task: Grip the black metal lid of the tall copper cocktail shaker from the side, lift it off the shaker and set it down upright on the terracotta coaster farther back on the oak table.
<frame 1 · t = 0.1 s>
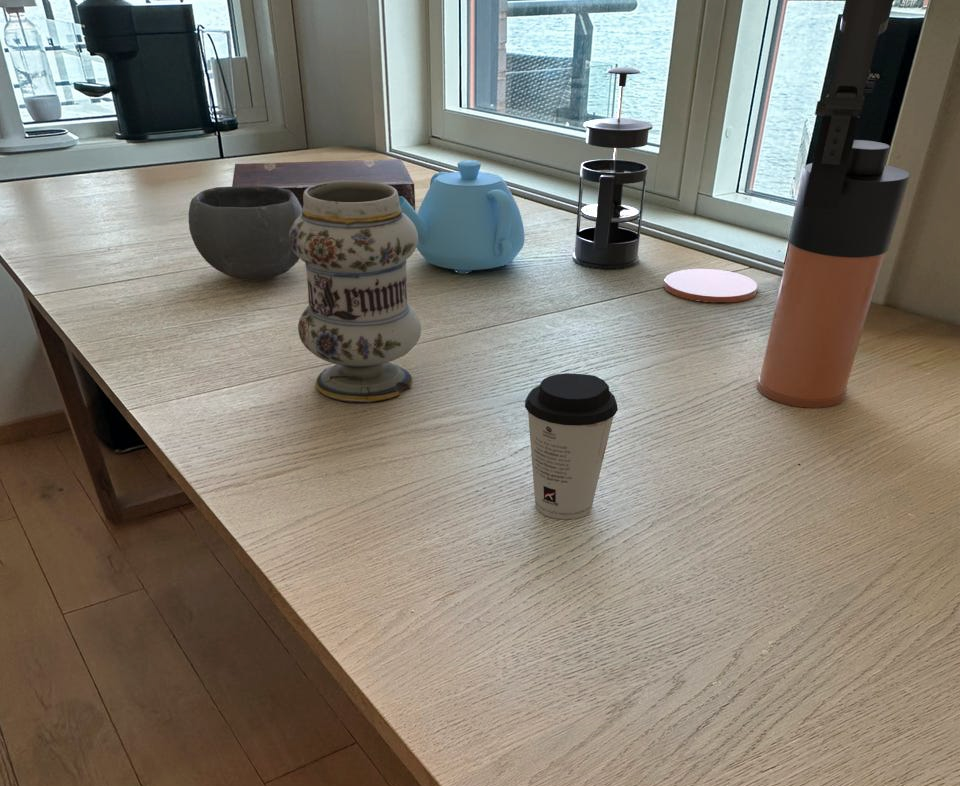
hand: (825, 190, 76), 18 cm above the table, tool pointing down, fingers open, 13 cm apart
shaker: (800, 390, 87), on the table
apothecary jar: (364, 385, 88), on the table
coffee cup: (563, 506, 69), on the table
teapot: (455, 266, 120), on the table
hardback book: (324, 206, 147), on the table
shaker lid: (837, 243, 79), point 14 cm above the table, touching shaker
bowl: (256, 277, 116), on the table
coaster: (709, 288, 113), on the table
french press: (604, 262, 122), on the table
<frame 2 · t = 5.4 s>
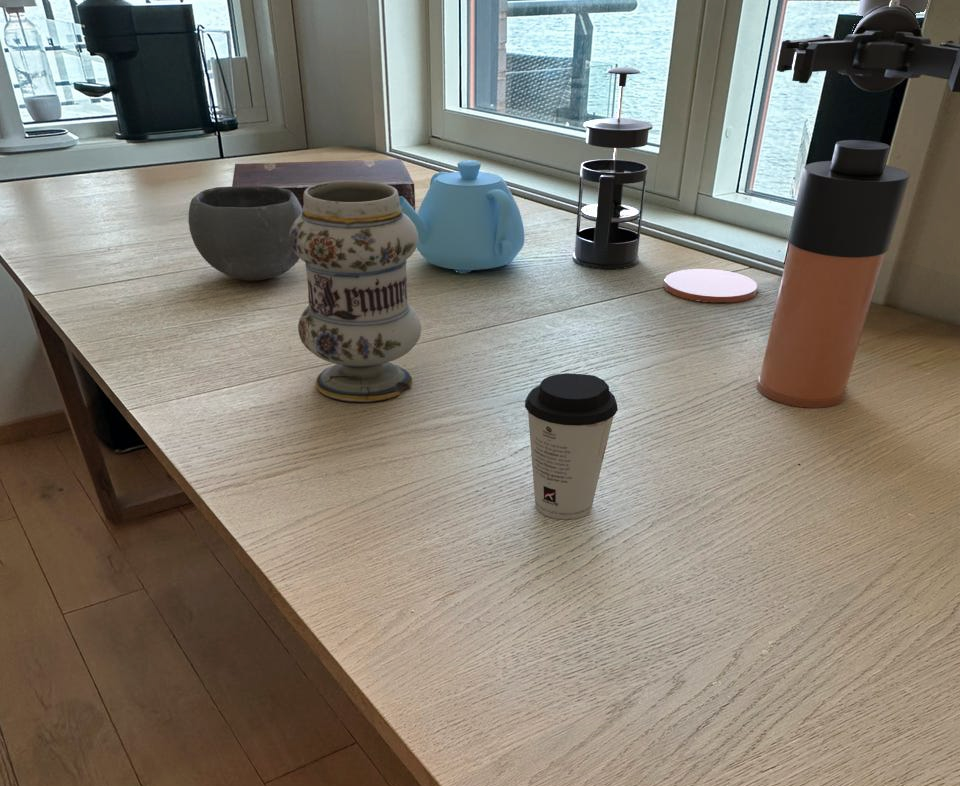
hand: (882, 70, 80), 26 cm above the table, tool horizontal, fingers open, 13 cm apart
nothing on the table moved.
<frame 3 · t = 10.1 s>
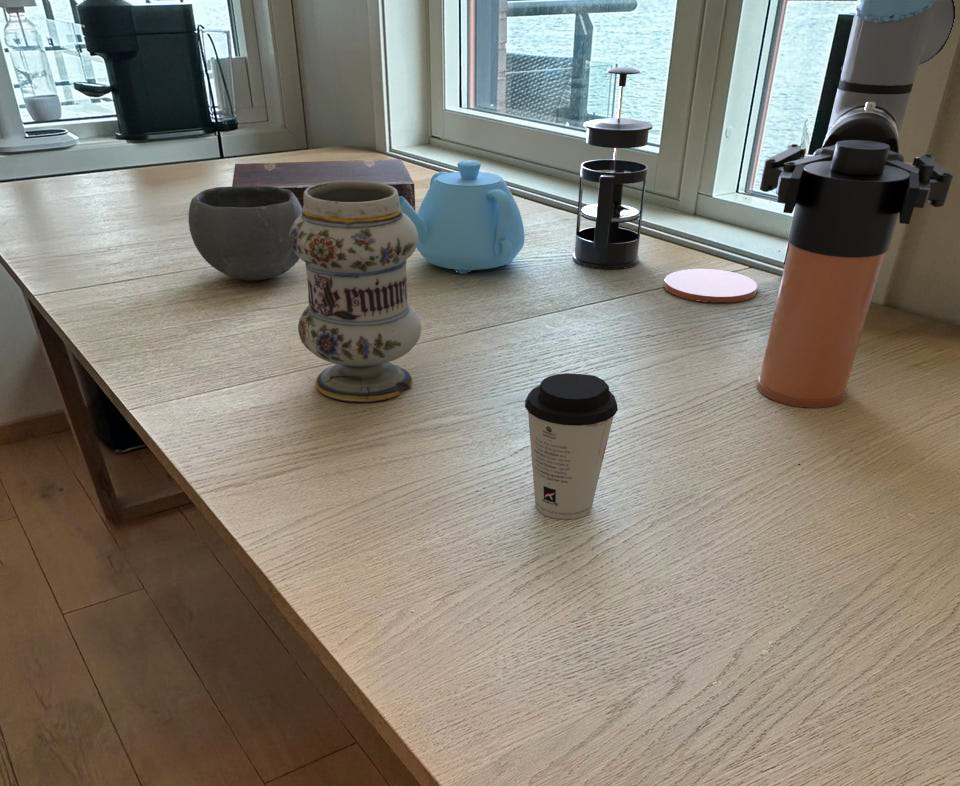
hand: (849, 200, 72), 18 cm above the table, tool horizontal, fingers closed on shaker lid, 9 cm apart
shaker lid: (837, 243, 79), point 14 cm above the table, touching gripper, shaker
everything else where it was.
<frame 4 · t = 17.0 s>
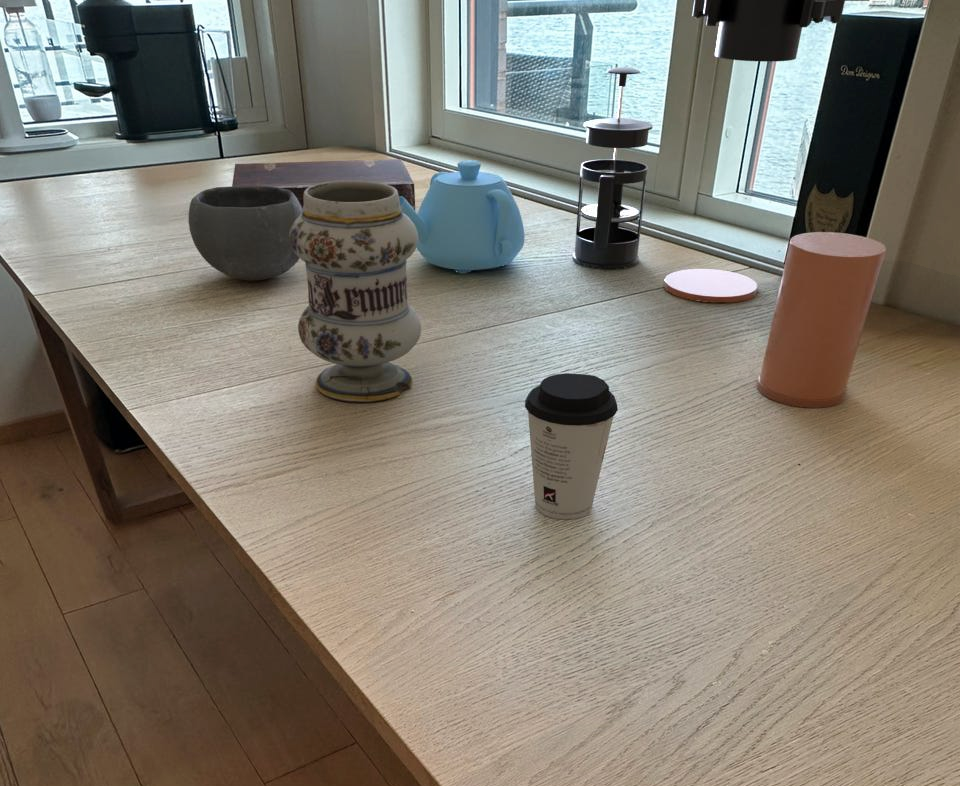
hand: (758, 9, 89), 30 cm above the table, tool horizontal, fingers closed on shaker lid, 9 cm apart
shaker lid: (755, 57, 95), point 25 cm above the table, touching gripper
everything else where it was.
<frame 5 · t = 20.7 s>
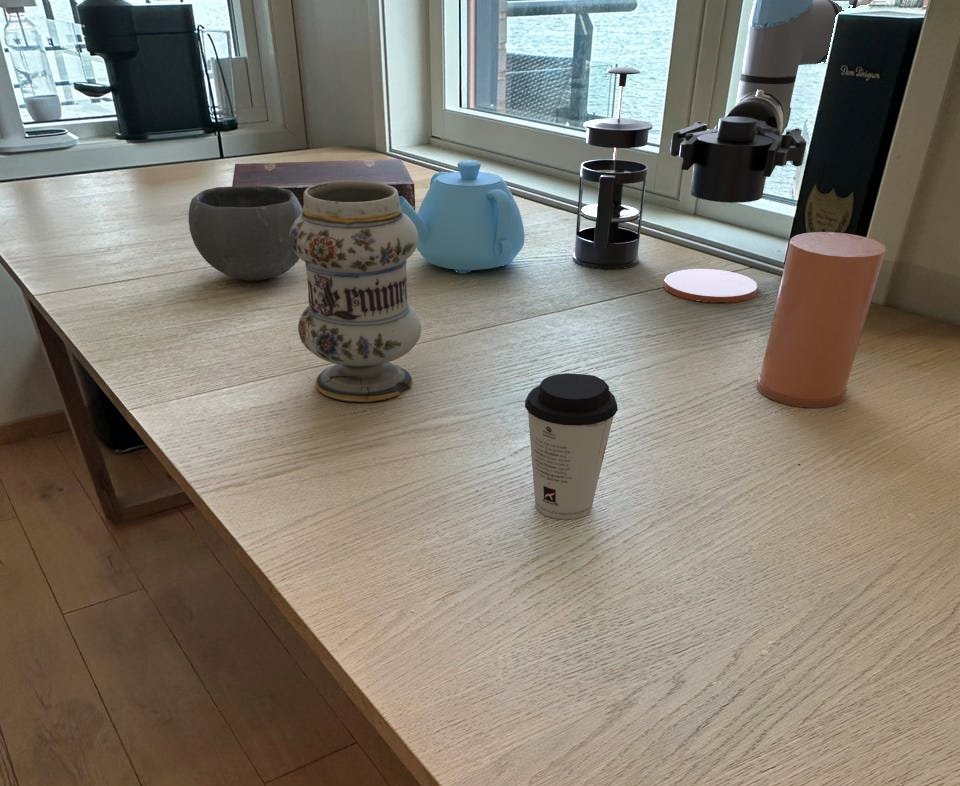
hand: (727, 160, 100), 16 cm above the table, tool horizontal, fingers closed on shaker lid, 9 cm apart
shaker lid: (725, 194, 106), point 11 cm above the table, touching gripper
everything else where it was.
when the fingers open (5 cm above the table, at t = 24.0 s): shaker lid stays where it is, resting on coaster.
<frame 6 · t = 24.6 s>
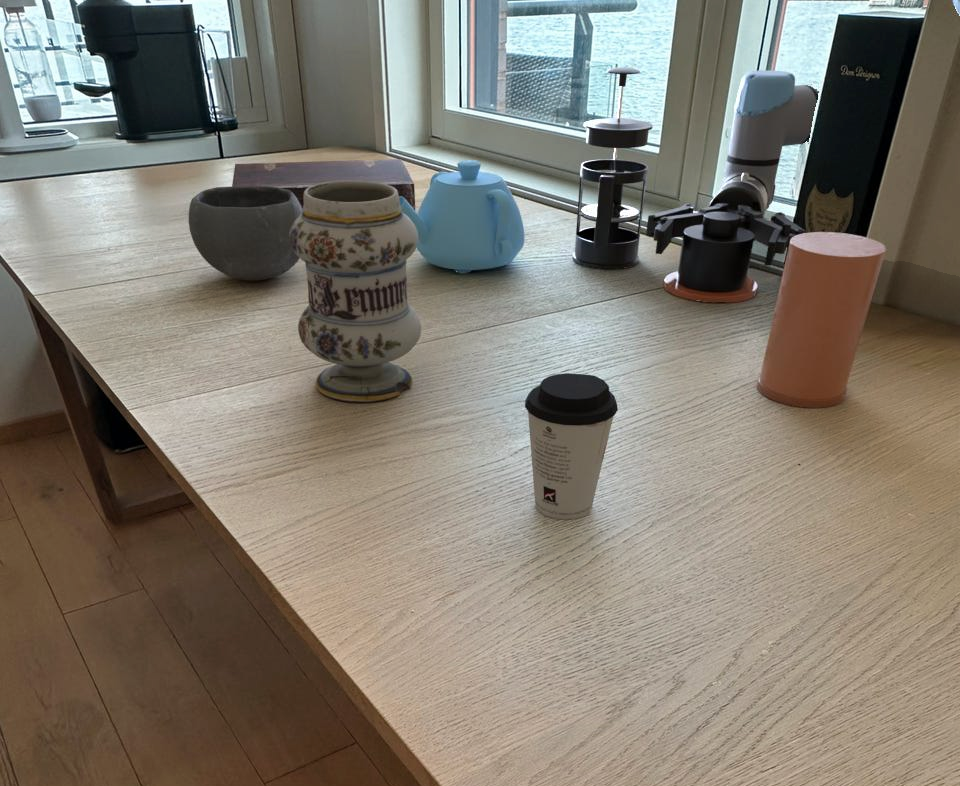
hand: (713, 248, 107), 6 cm above the table, tool horizontal, fingers open, 13 cm apart
shaker lid: (710, 282, 112), point 1 cm above the table, touching coaster
everything else where it was.
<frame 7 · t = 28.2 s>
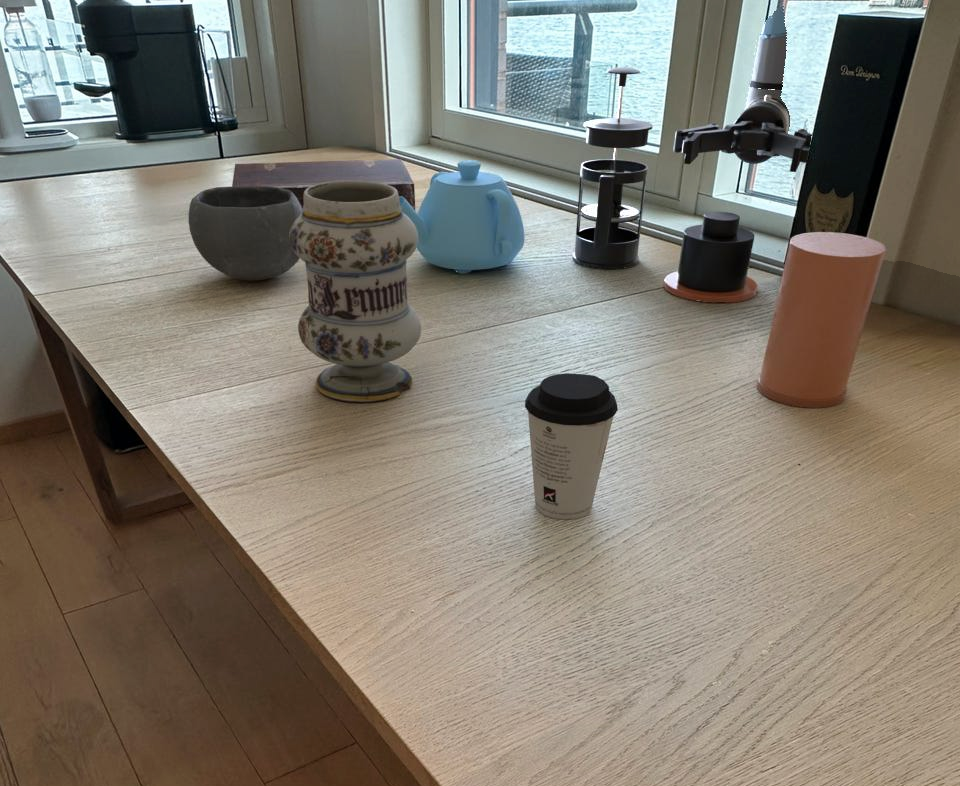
hand: (740, 156, 111), 14 cm above the table, tool horizontal, fingers open, 13 cm apart
nothing on the table moved.
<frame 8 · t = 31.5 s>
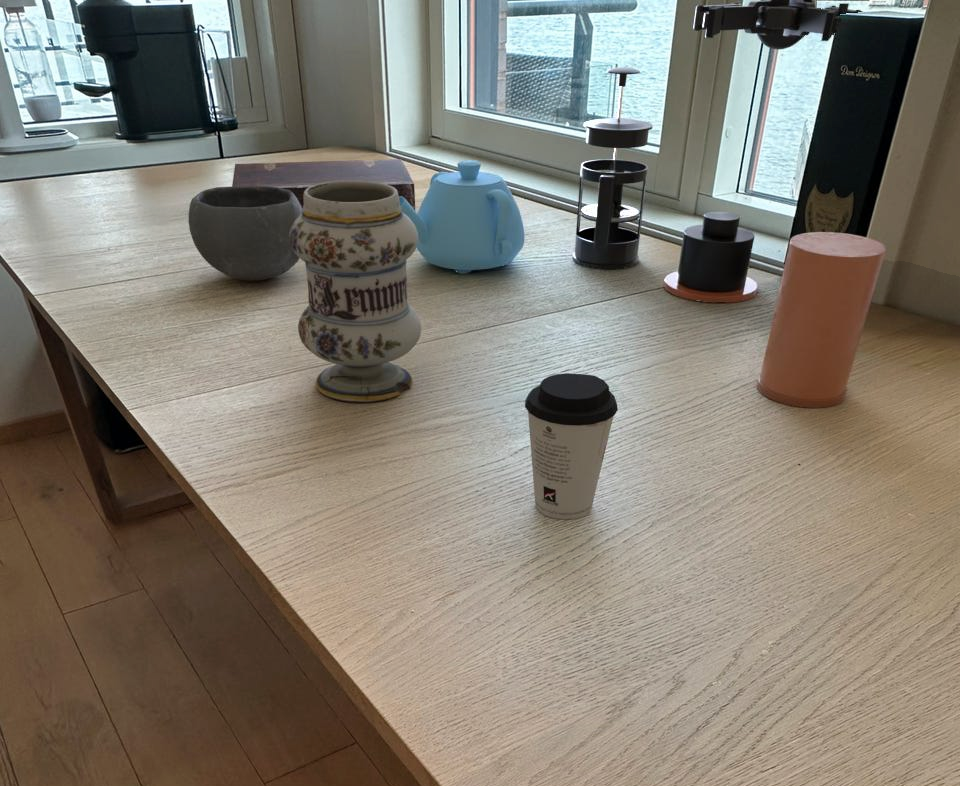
hand: (767, 24, 102), 28 cm above the table, tool horizontal, fingers open, 13 cm apart
nothing on the table moved.
at the end: shaker lid inside the target area on the coaster (0.0 cm from its centre), point 0.8 cm above the coaster's base; shaker lid tilted 0°; shaker lid touching coaster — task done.
